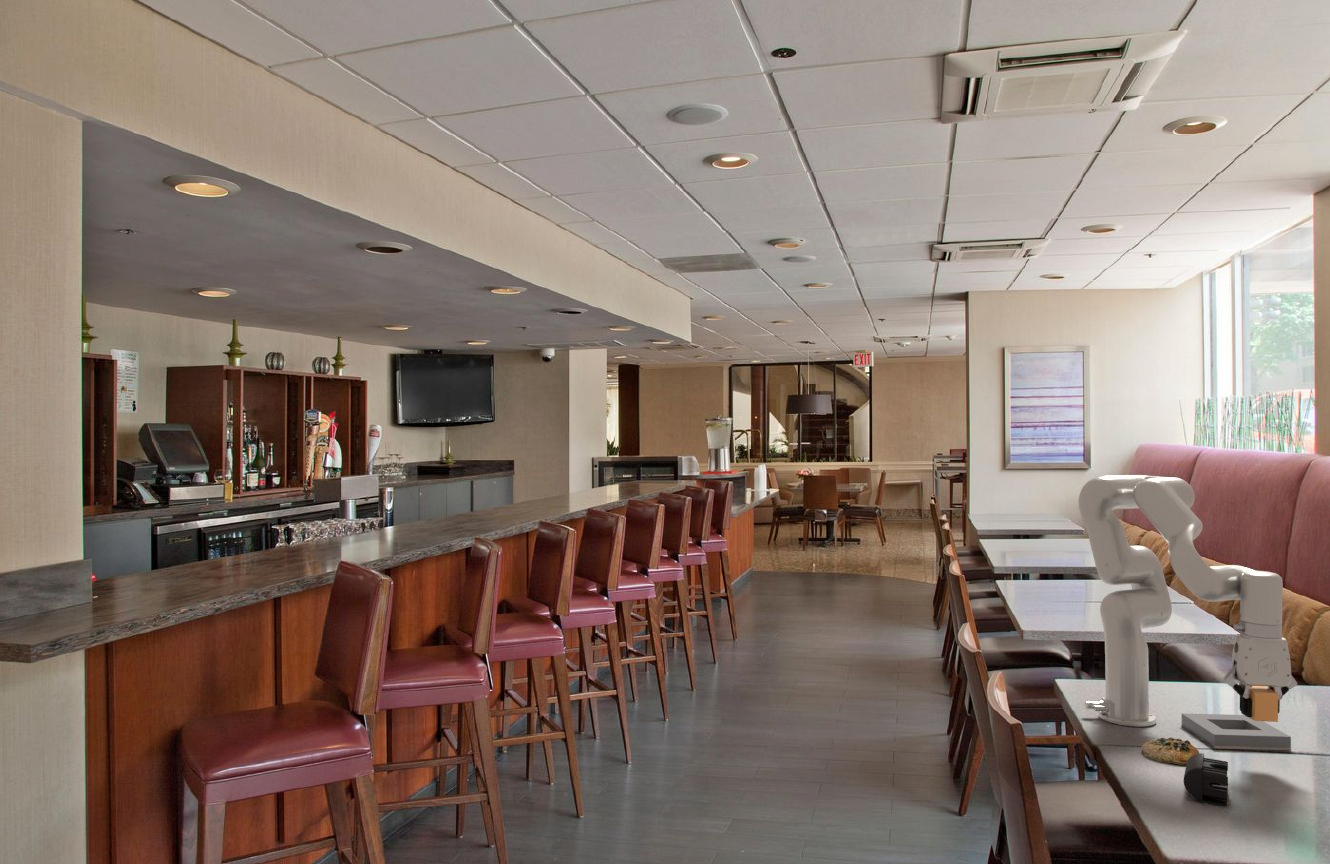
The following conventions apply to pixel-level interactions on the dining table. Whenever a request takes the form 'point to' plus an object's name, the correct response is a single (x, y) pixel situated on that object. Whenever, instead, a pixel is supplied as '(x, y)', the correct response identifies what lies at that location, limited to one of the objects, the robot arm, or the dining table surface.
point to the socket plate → (1235, 732)
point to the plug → (1264, 704)
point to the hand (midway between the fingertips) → (1259, 715)
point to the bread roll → (1169, 750)
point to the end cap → (1207, 780)
